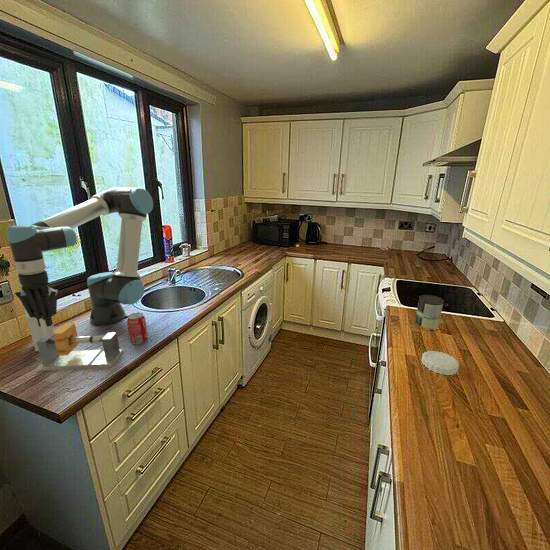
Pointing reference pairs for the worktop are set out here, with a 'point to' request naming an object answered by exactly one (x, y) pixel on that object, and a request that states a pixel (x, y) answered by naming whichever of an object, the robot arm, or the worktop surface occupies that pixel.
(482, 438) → the worktop surface
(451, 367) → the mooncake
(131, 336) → the soda can
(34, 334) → the milk carton
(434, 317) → the coffee can
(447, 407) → the worktop surface
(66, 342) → the orange tall block
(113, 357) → the pipe stand
